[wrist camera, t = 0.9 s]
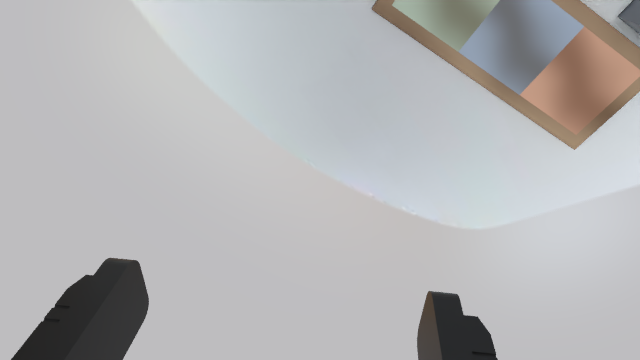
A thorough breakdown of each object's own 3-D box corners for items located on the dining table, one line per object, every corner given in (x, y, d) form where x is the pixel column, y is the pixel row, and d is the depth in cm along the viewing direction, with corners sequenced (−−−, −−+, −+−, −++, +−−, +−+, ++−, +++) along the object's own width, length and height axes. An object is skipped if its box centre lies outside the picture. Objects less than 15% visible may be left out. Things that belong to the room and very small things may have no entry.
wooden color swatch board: (445, -106, 27) (447, -106, 26) (660, 65, 31) (665, 68, 30) (371, 8, 31) (371, 10, 30) (571, 146, 35) (575, 150, 34)
